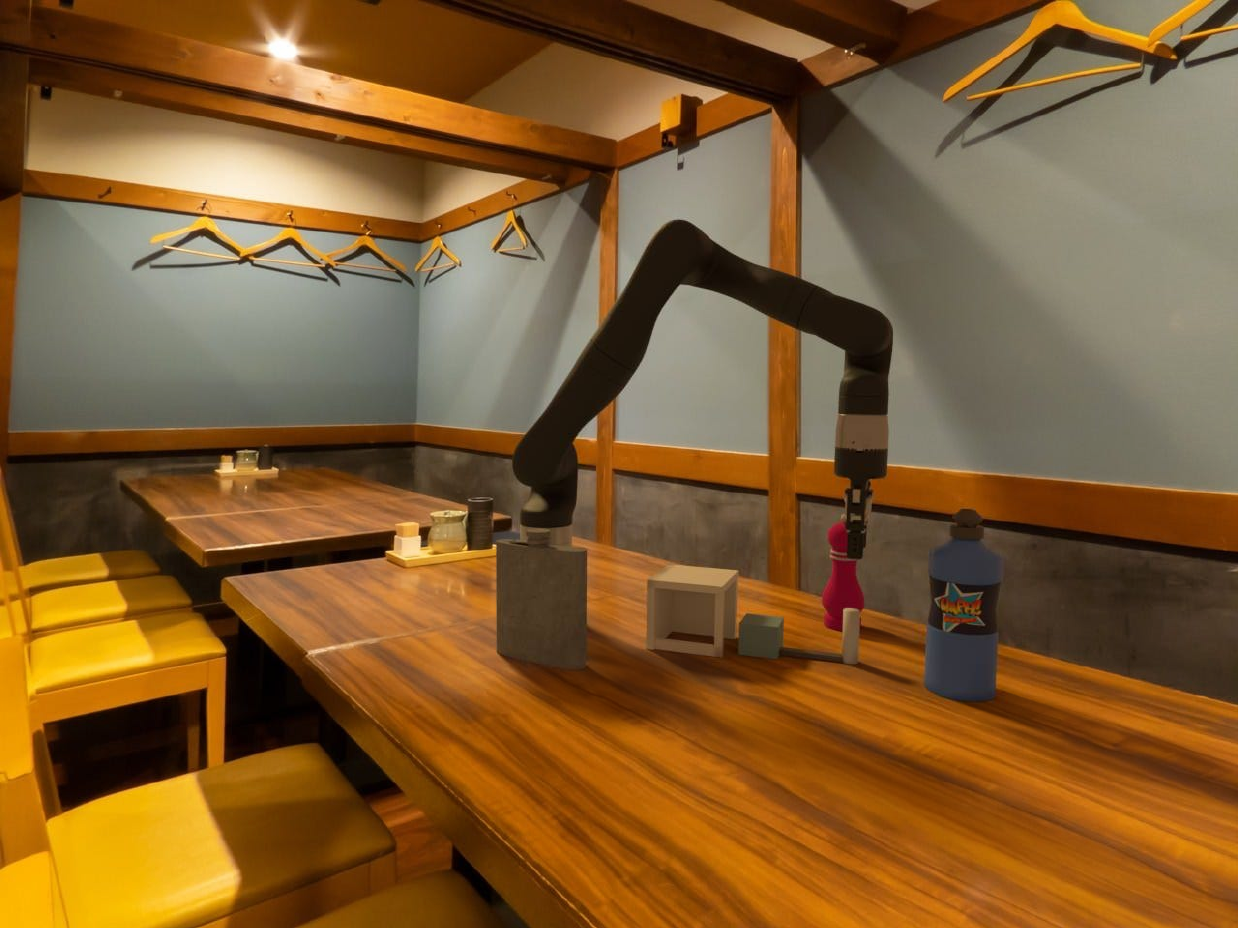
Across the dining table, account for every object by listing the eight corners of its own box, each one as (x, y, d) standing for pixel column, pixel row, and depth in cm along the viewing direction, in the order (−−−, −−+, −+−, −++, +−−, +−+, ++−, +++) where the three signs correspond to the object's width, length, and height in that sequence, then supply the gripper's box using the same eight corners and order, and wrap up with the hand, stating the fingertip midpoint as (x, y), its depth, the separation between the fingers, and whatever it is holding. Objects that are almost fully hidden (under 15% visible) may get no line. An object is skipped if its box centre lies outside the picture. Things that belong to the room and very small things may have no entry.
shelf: (646, 648, 122) (647, 579, 121) (668, 628, 133) (669, 564, 132) (720, 658, 117) (722, 586, 116) (737, 636, 129) (738, 570, 128)
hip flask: (590, 664, 114) (591, 531, 113) (575, 672, 111) (576, 536, 109) (505, 646, 122) (504, 522, 120) (488, 654, 118) (488, 526, 117)
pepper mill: (865, 633, 131) (870, 517, 129) (822, 630, 132) (825, 515, 131) (861, 621, 138) (865, 511, 136) (819, 618, 139) (823, 509, 138)
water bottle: (992, 707, 100) (1002, 516, 97) (916, 692, 104) (924, 510, 102) (1000, 685, 107) (1009, 508, 105) (929, 672, 112) (937, 503, 110)
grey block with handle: (738, 654, 119) (739, 604, 119) (745, 643, 125) (746, 594, 124) (856, 669, 113) (858, 616, 113) (859, 656, 119) (861, 606, 118)
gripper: (839, 442, 121) (834, 543, 123) (830, 446, 108) (826, 560, 110) (889, 443, 119) (884, 546, 120) (886, 449, 106) (881, 564, 107)
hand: (856, 553), depth 115 cm, fingers open, 8 cm apart
